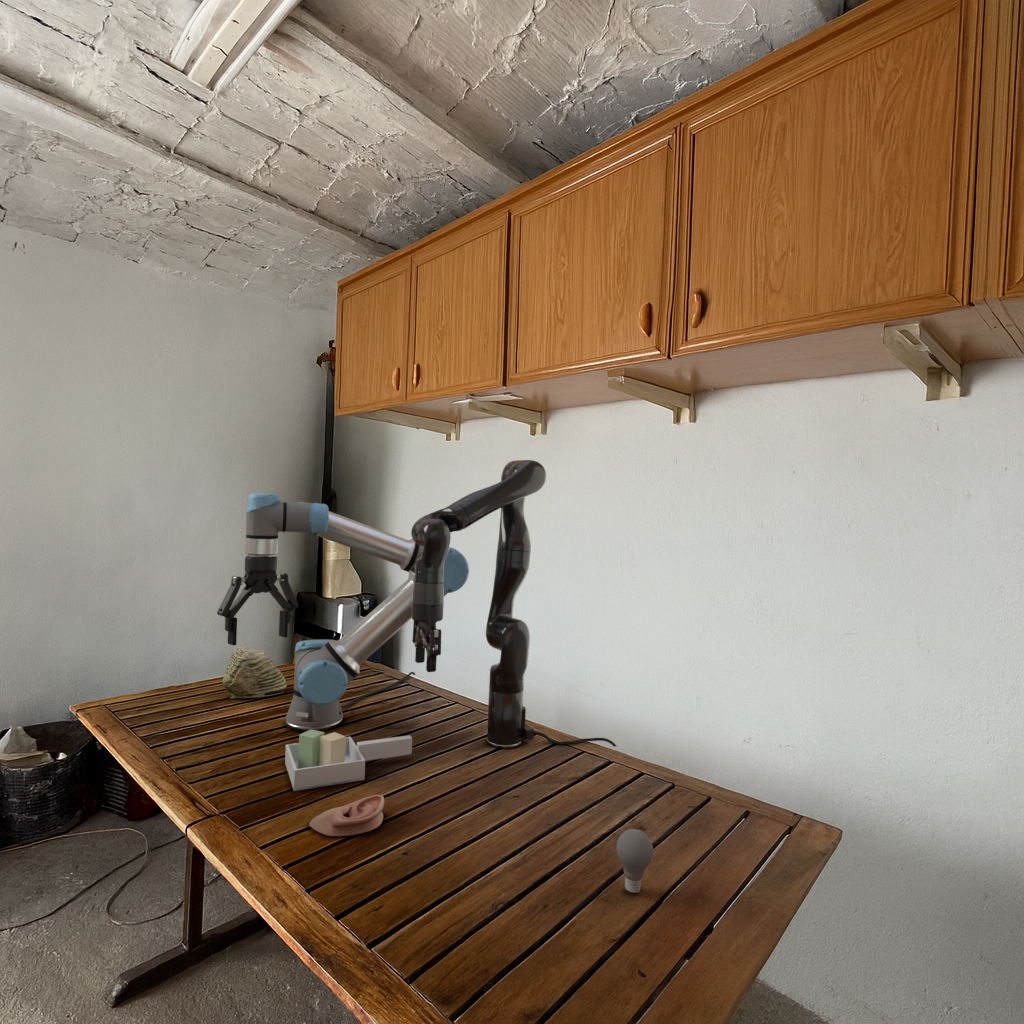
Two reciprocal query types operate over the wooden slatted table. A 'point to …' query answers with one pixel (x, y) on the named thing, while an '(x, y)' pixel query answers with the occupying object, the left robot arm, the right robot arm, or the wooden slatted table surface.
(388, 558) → the left robot arm
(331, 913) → the wooden slatted table surface
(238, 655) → the fossil
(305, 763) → the block
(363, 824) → the anatomical model
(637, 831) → the light bulb
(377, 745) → the tray
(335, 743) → the block
